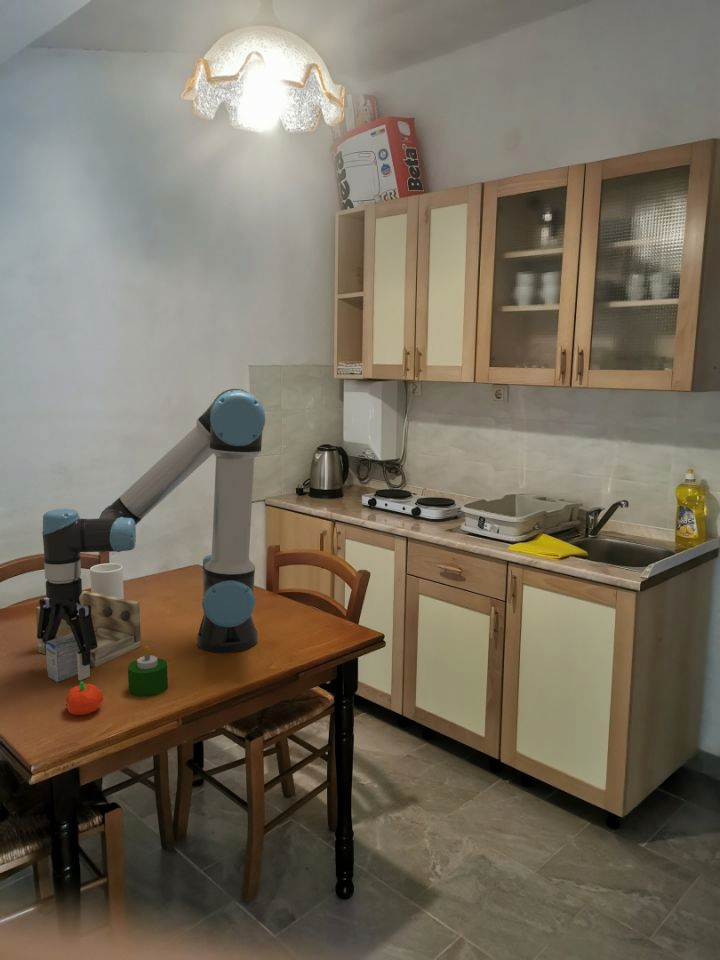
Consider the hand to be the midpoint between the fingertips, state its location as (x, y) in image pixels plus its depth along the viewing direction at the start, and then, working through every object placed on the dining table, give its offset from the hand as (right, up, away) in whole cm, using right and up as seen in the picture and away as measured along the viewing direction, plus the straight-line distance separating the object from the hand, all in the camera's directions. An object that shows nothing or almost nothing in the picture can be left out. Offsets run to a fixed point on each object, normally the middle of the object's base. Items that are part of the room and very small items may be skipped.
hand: (68, 673), depth 169 cm
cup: (-2, +5, +32) cm, 32 cm away
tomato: (+10, -3, -17) cm, 20 cm away
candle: (+20, -2, -7) cm, 21 cm away
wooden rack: (0, +2, +15) cm, 15 cm away
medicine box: (0, 0, 0) cm, 1 cm away
